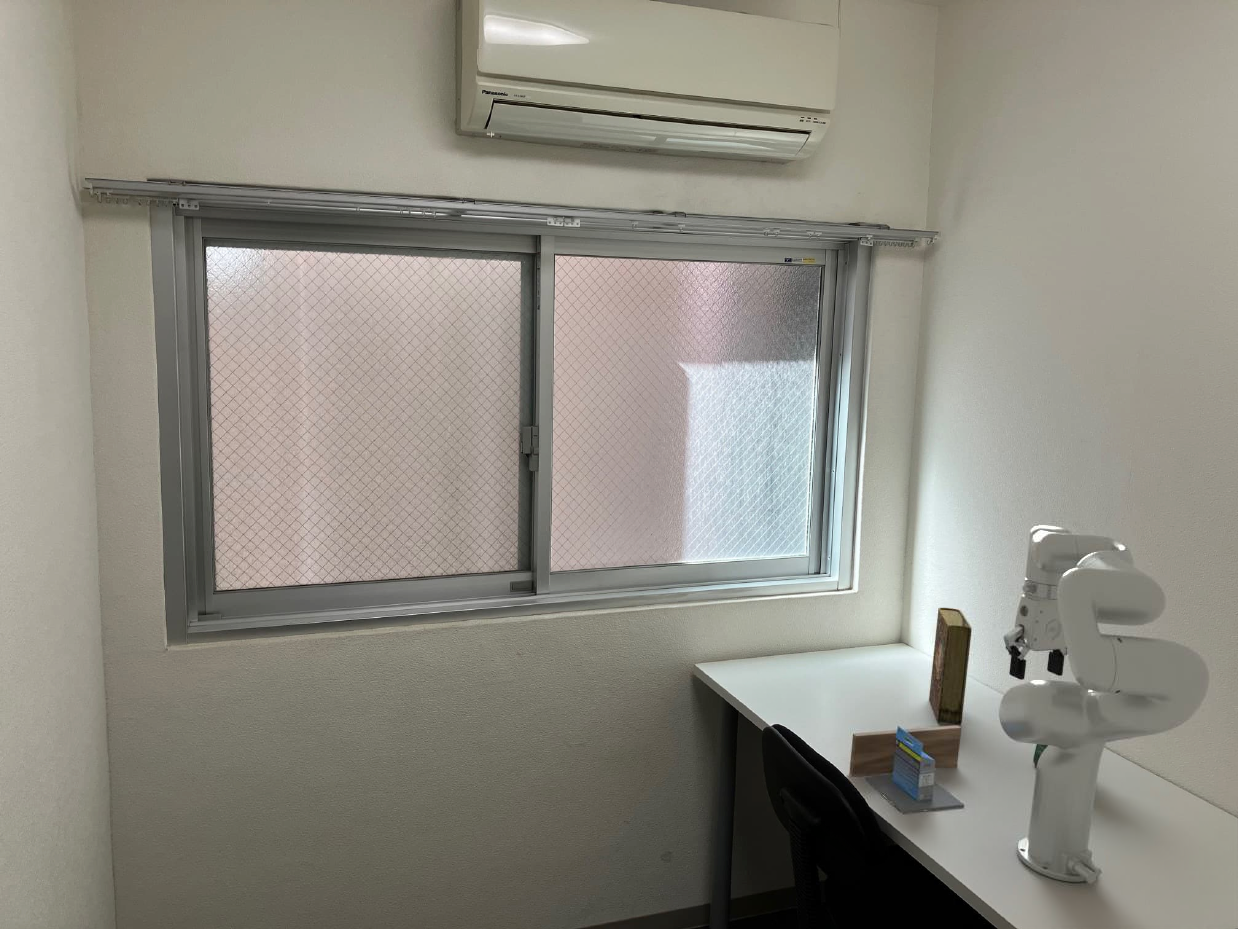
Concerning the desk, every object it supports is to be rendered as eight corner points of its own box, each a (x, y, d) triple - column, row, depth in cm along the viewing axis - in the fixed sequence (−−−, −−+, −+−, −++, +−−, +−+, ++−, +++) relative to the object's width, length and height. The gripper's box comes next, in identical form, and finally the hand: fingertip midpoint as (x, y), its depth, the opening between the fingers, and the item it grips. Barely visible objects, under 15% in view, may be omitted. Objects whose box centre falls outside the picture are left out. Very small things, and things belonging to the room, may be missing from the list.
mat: (963, 806, 174) (964, 804, 174) (902, 813, 171) (902, 811, 171) (921, 773, 188) (921, 771, 188) (864, 779, 184) (864, 776, 184)
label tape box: (933, 800, 175) (939, 742, 174) (916, 802, 174) (922, 744, 173) (906, 779, 184) (912, 723, 182) (890, 781, 183) (895, 725, 181)
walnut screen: (957, 766, 192) (961, 727, 191) (852, 776, 185) (856, 736, 184) (953, 764, 193) (957, 725, 192) (849, 773, 186) (853, 733, 185)
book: (928, 698, 230) (937, 606, 227) (949, 701, 229) (959, 609, 226) (937, 724, 214) (948, 625, 211) (961, 727, 213) (972, 628, 210)
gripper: (1026, 597, 162) (1016, 686, 164) (1095, 593, 169) (1084, 678, 171) (995, 587, 169) (986, 672, 171) (1062, 583, 176) (1053, 665, 177)
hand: (1035, 675), depth 171 cm, fingers open, 9 cm apart
